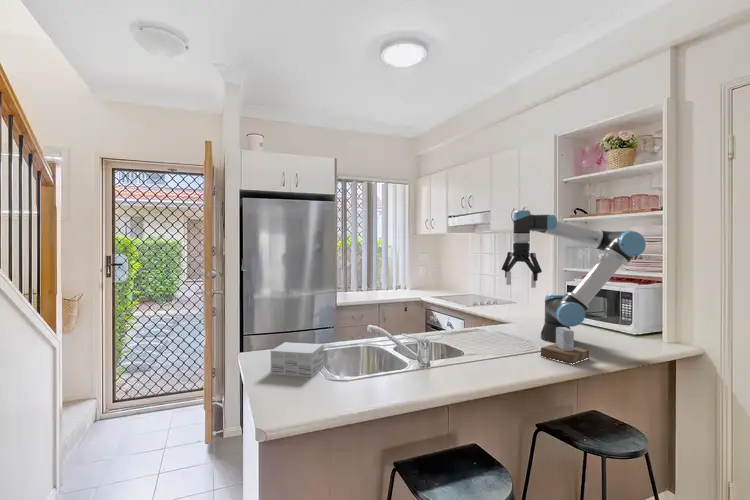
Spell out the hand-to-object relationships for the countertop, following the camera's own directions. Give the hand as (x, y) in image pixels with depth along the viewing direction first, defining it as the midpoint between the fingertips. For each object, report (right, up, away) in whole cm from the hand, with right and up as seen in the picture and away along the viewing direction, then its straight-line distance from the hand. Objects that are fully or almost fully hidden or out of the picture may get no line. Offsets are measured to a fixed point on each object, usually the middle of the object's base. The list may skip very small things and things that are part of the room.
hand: (520, 286), depth 192 cm
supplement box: (-101, -30, -38) cm, 112 cm away
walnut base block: (+12, -29, -20) cm, 38 cm away
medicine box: (+12, -26, -20) cm, 35 cm away
